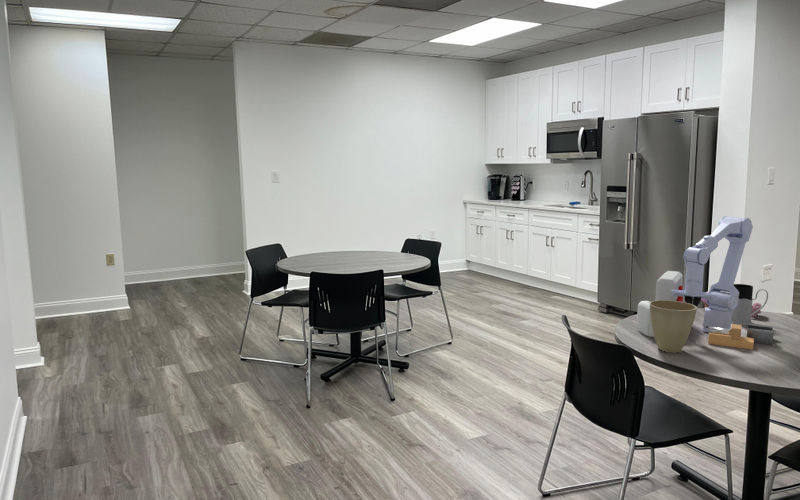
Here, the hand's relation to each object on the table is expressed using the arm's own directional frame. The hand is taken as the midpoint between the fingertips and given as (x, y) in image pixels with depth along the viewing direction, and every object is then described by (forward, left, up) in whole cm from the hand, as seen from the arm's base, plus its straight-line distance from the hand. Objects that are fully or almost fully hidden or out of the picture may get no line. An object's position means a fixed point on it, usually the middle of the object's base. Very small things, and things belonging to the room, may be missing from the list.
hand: (691, 316), depth 220 cm
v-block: (+22, +11, -8) cm, 26 cm away
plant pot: (-5, -17, -9) cm, 20 cm away
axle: (+11, 0, -6) cm, 12 cm away
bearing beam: (+12, 0, -8) cm, 15 cm away
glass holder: (+18, +36, -9) cm, 41 cm away
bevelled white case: (-9, +18, -9) cm, 22 cm away
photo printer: (-15, 0, -9) cm, 17 cm away
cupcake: (+5, +44, -9) cm, 45 cm away
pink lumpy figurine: (+20, +48, -9) cm, 53 cm away
